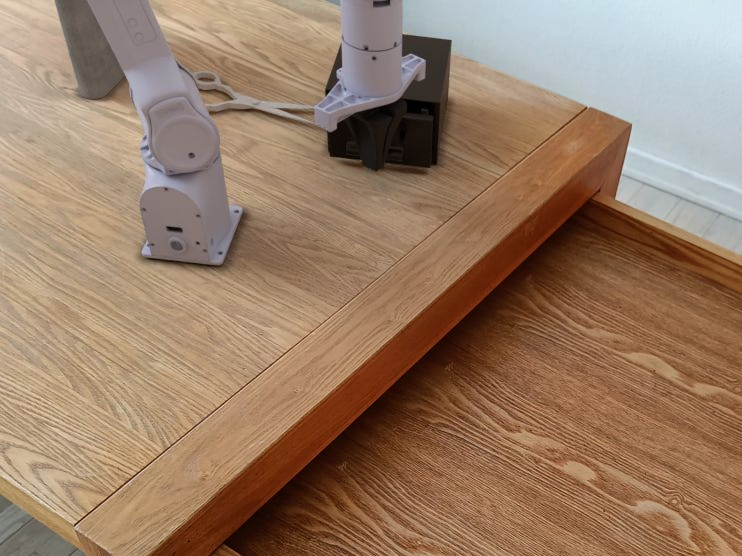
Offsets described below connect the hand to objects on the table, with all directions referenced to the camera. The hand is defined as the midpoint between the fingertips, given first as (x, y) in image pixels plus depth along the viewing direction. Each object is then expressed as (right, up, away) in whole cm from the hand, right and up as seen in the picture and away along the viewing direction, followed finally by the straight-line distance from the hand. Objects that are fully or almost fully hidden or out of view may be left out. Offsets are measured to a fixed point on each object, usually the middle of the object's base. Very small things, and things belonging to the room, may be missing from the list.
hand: (373, 165), depth 94 cm
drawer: (0, +6, +9) cm, 11 cm away
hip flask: (-34, +18, +15) cm, 41 cm away
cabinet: (+1, +9, +13) cm, 16 cm away
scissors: (-16, +11, +12) cm, 23 cm away
